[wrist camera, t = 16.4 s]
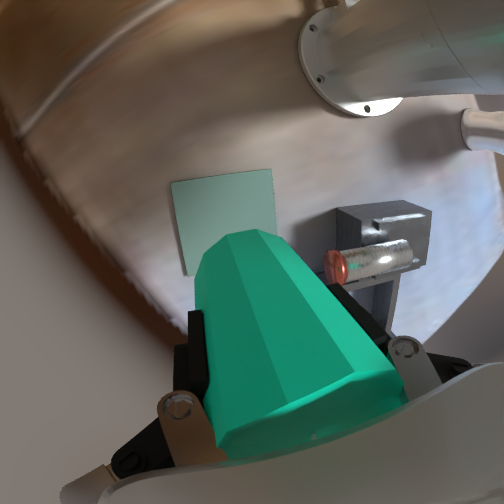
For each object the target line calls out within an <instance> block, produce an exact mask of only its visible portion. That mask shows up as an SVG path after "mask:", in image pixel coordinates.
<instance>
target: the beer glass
mask: <svg viewBox="0 0 504 504" xmlns="http://www.w3.org/2000/svg"><path fill="white" fill-rule="evenodd" d="M461 133H462V137H463V140H464V142H465V144H466V145H467V147H468V148H470V149H471V150H491V151H494V152H497V153H500V154H502V155H504V111H500V112H483V111H479V110H476V109H472V108H468V109H466V110H465V111H464V112H463V114H462V117H461Z"/></svg>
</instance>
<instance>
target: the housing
mask: <svg viewBox="0 0 504 504" xmlns="http://www.w3.org/2000/svg"><path fill="white" fill-rule="evenodd" d="M431 217H432V211H430V210H428V209H425V208H423V207H420V206H417V205H415V204H412V203H409V202H407V201H404V200H399V201H390V202H381V203H372V204H363V205H354V206H346V207H338V208H336V223H337V238H336V250H338V251H343V250H349V249H354V248H359V247H364V246H370V245H375V244H380V243H385V242H390V241H395V240H401V239H404V240H406V241H407V242H408V243H409V244H410V246H411V249H412V253H413V259H412V263H411V265H410V266H409V267H407V268H403V269H399V270H395V271H392V272H388V273H384V274H380V275H376V276H372V277H368V278H364V279H359V280H355V281H351V282H347V283H345V284H344V285H343V286H342V287H343V288H344V289H345V290H346V291H347V292H349V291H353V290H357V289H361V288H365V287H369V286H373V285H375V294H374V302H373V309H372V317H373V318H374V320H375V321H376V322H377V323H378V324H379V325H380V326H381V327H382V328H383V329H384V330H385V331H386V332H387V333H388V335H389V336H390V337H391V338H392V339H393V338H394V337H396V336H395V335H394V333H393V332H392V331H391V327H392V322H393V317H394V312H395V306H396V301H397V295H398V289H399V282H400V275H401V273H404V272H407V271H411V270H414V269H418V268H420V266H423V265H426V260H427V253H428V245H429V237H430V228H431ZM315 275H316V276H317V277H318V278H319V279H320V280H321V282H322V283H323V284H324V285H329V282H328V280H327V277H326V274H325V272H320V273H315Z"/></svg>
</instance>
